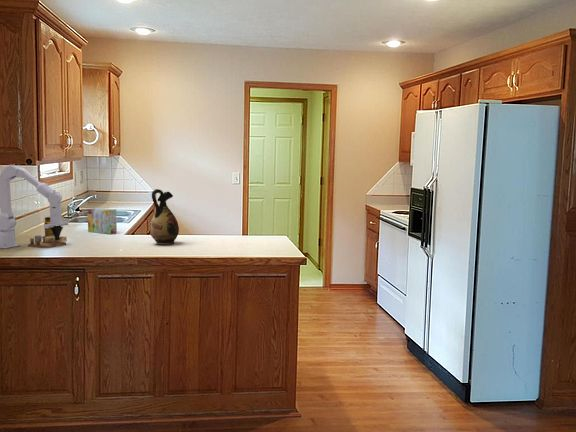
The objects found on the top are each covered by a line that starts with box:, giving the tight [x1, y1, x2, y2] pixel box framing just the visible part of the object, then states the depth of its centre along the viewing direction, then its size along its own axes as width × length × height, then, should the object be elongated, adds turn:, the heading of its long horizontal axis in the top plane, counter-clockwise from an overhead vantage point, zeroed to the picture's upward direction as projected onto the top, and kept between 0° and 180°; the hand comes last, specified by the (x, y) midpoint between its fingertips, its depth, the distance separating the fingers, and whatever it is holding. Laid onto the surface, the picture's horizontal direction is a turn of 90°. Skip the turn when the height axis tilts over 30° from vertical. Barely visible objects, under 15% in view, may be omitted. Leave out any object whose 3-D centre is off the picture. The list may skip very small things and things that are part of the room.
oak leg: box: [45, 236, 67, 243], centre depth 311 cm, size 10×5×2 cm, turn 86°
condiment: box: [41, 216, 57, 240], centre depth 336 cm, size 7×8×12 cm
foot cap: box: [34, 235, 43, 243], centre depth 316 cm, size 3×3×4 cm
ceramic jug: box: [149, 188, 180, 246], centre depth 309 cm, size 17×15×30 cm
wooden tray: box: [27, 235, 67, 249], centre depth 308 cm, size 13×14×4 cm
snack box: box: [86, 207, 118, 235], centre depth 354 cm, size 21×6×15 cm, turn 58°
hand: (57, 240), depth 308 cm, fingers closed, pressing on oak leg
